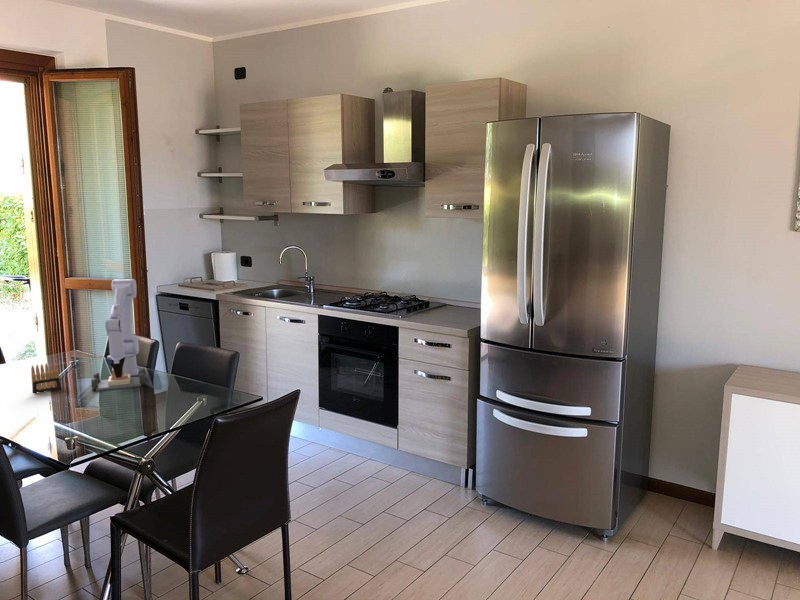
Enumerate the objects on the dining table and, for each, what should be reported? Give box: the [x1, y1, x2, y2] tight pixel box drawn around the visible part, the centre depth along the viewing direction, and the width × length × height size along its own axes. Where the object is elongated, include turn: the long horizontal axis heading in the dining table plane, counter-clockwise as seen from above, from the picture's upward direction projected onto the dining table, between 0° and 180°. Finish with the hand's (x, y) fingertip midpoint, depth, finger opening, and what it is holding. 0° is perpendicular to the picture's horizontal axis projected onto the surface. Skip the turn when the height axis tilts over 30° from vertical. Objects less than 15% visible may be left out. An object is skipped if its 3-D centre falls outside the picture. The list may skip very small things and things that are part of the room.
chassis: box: [90, 367, 147, 392], centre depth 292 cm, size 14×21×5 cm, turn 109°
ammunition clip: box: [30, 361, 62, 394], centre depth 284 cm, size 11×2×12 cm, turn 127°
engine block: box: [111, 367, 124, 380], centre depth 291 cm, size 4×4×6 cm
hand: (119, 375), depth 291 cm, fingers closed on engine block, 4 cm apart
